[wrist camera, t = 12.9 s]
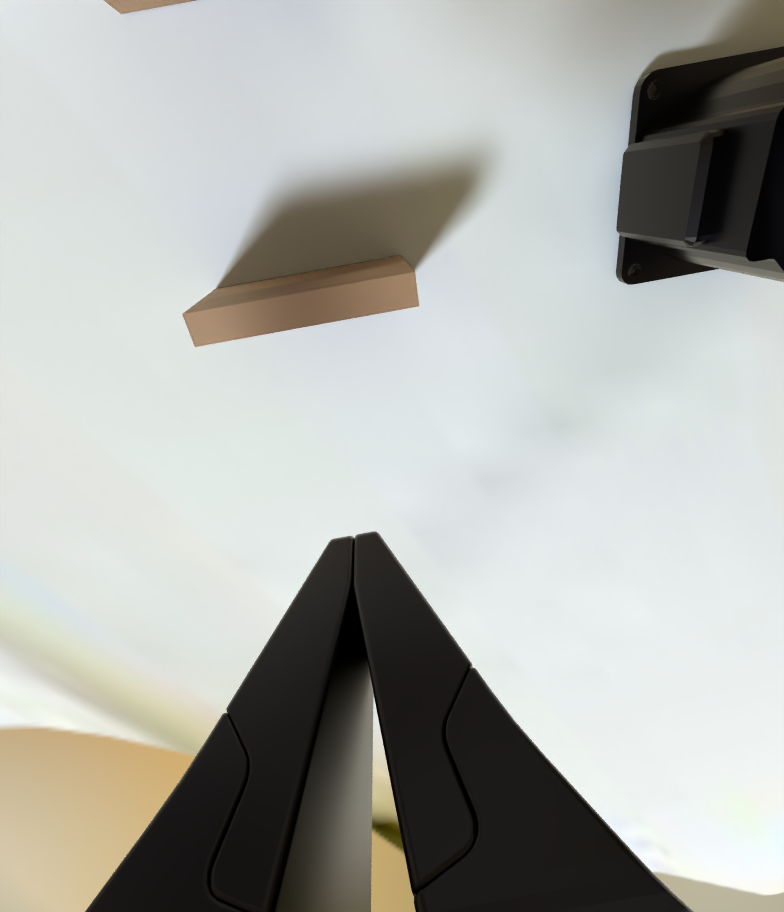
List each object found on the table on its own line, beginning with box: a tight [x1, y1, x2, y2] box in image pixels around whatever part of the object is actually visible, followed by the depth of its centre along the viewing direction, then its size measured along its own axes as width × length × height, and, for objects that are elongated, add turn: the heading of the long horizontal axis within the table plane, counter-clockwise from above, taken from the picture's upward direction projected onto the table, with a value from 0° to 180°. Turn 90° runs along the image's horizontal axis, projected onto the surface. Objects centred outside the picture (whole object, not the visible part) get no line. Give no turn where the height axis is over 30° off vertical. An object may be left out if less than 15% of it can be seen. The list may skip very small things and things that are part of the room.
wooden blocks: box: [104, 0, 419, 347], centre depth 13 cm, size 7×10×4 cm
